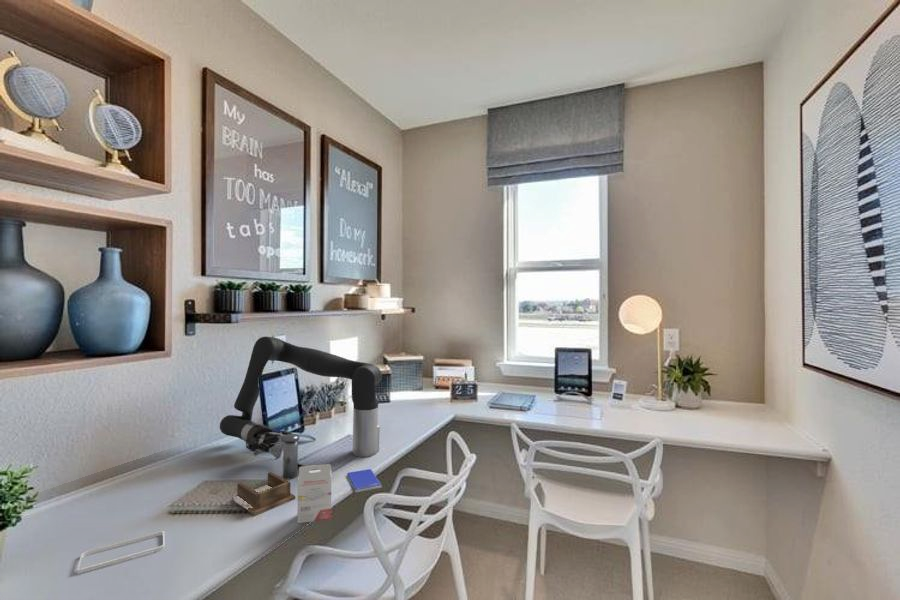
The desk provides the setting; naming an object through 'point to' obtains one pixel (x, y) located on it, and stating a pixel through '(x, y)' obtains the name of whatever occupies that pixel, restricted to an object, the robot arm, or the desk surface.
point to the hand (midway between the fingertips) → (280, 445)
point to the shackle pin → (290, 455)
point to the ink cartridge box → (314, 493)
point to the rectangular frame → (81, 570)
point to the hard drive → (363, 480)
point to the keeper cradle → (266, 494)
